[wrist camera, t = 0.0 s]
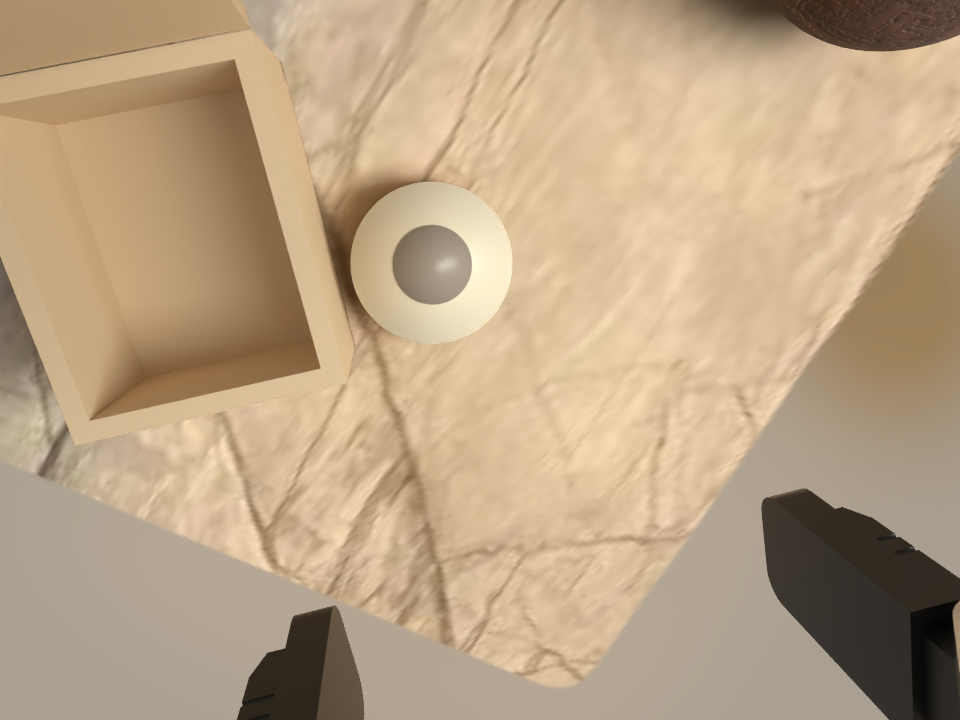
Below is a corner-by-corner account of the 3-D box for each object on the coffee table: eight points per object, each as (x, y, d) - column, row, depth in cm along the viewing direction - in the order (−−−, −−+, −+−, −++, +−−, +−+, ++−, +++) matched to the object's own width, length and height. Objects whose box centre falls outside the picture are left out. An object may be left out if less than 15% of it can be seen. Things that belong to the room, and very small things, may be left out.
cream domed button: (335, 199, 38) (331, 200, 36) (489, 167, 39) (496, 166, 36) (373, 349, 40) (372, 360, 38) (517, 317, 41) (525, 325, 39)
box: (34, 110, 35) (-67, 89, 27) (281, 62, 36) (251, 28, 28) (137, 394, 39) (75, 445, 32) (355, 345, 40) (346, 383, 33)
